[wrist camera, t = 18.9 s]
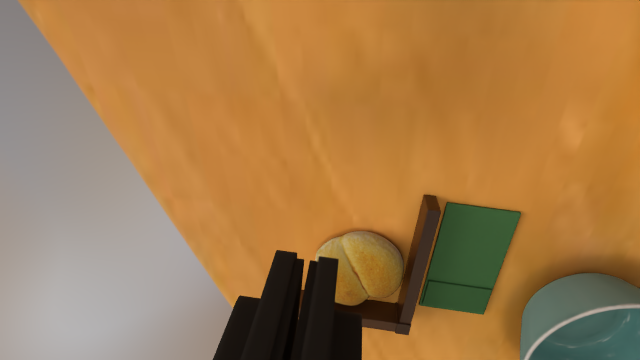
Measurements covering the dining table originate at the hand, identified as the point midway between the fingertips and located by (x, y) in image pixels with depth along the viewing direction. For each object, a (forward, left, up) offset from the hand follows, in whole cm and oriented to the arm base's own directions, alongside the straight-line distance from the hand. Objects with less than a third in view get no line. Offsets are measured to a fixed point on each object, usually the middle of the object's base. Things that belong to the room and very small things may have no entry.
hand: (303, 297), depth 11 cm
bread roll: (-4, +19, -27) cm, 34 cm away
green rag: (-15, +17, -27) cm, 35 cm away
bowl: (-27, +21, -27) cm, 44 cm away
